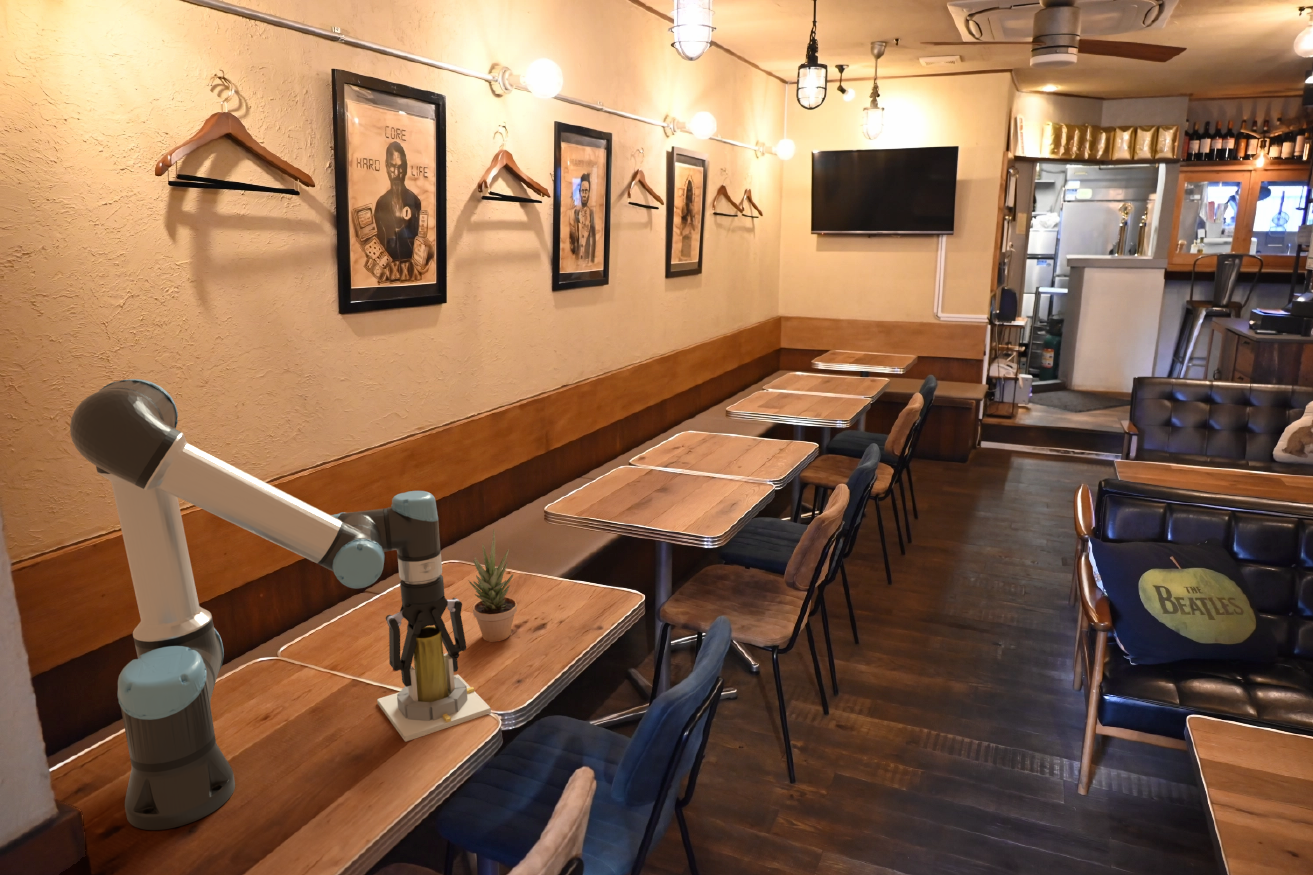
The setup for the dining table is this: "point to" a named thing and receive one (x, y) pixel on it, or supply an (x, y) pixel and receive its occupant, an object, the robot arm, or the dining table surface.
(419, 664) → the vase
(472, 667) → the dining table surface
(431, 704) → the socket
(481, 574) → the potted plant
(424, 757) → the dining table surface
